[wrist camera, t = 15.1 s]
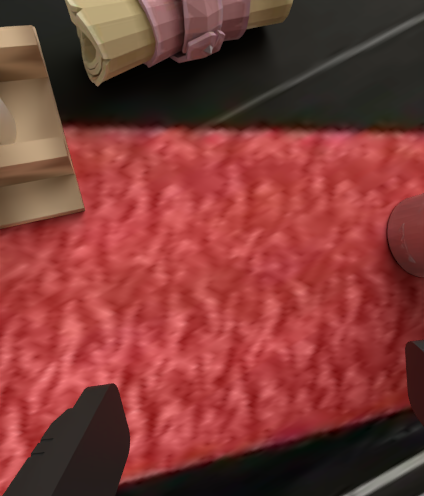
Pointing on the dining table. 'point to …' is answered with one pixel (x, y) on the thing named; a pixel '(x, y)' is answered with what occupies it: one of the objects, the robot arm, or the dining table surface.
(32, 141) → the stand
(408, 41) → the dining table surface
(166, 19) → the scroll
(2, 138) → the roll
